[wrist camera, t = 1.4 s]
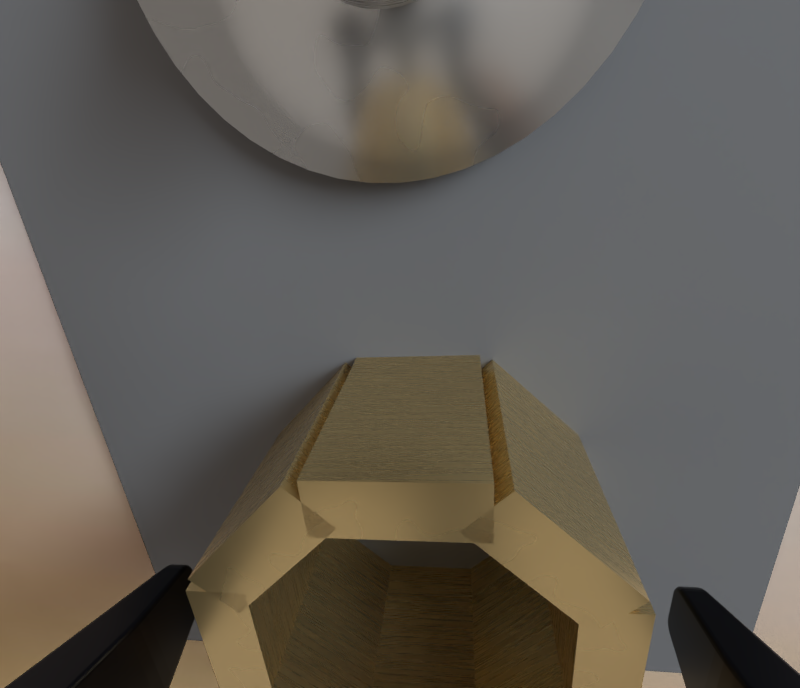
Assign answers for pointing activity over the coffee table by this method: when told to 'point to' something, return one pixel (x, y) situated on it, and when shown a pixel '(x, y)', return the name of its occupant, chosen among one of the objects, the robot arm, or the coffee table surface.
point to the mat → (438, 278)
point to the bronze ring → (422, 521)
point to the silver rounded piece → (388, 74)
